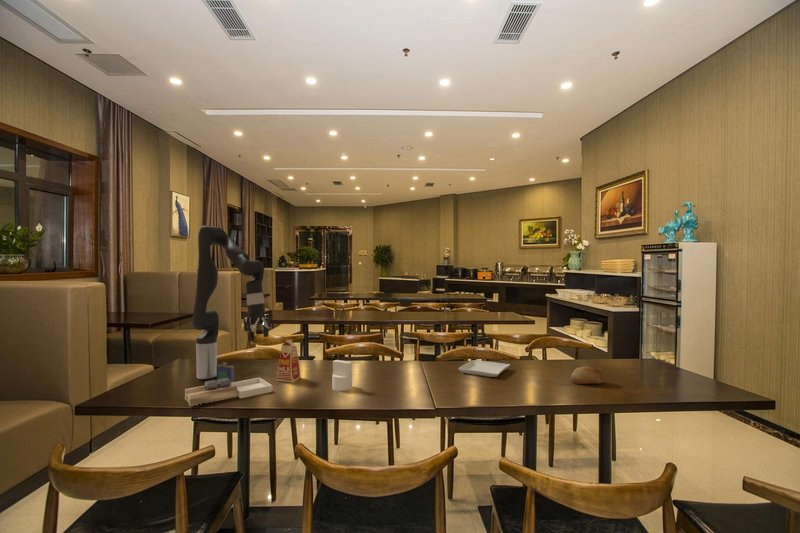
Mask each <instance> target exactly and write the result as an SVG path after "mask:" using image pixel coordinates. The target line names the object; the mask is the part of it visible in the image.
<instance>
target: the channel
mask: <svg viewBox="0 0 800 533" xmlns="http://www.w3.org/2000/svg"><path fill="white" fill-rule="evenodd" d="M237 397H238V396H237V386H231V382H230V387H225V388H220V389H215V390H209V391H205V385H201V386H195V387H189V388H184V401H185V400H186V401H187V402H188V403H189V404H188V403H187V402H186V401H185V402H186V403H187V404H188V406H189V407H194V405H195V406H199V405H198V404H200V405H203V404H202V403H205V404H208V403H209V402H210V403H215V402H218V401H219V402H220V401H222V400H223V401H225V400H228V399H234V398H237ZM214 401H215V402H214ZM210 403H209V404H210Z"/></svg>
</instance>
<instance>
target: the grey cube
mask: <svg viewBox="0 0 800 533" xmlns="http://www.w3.org/2000/svg"><path fill="white" fill-rule="evenodd" d="M204 386H205V391H209V390H215V389H218V382H217V381H216V379H212V380H211V379H210V380H206V381H204Z"/></svg>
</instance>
